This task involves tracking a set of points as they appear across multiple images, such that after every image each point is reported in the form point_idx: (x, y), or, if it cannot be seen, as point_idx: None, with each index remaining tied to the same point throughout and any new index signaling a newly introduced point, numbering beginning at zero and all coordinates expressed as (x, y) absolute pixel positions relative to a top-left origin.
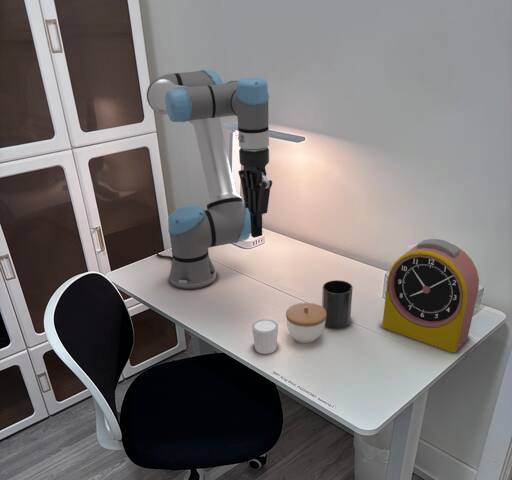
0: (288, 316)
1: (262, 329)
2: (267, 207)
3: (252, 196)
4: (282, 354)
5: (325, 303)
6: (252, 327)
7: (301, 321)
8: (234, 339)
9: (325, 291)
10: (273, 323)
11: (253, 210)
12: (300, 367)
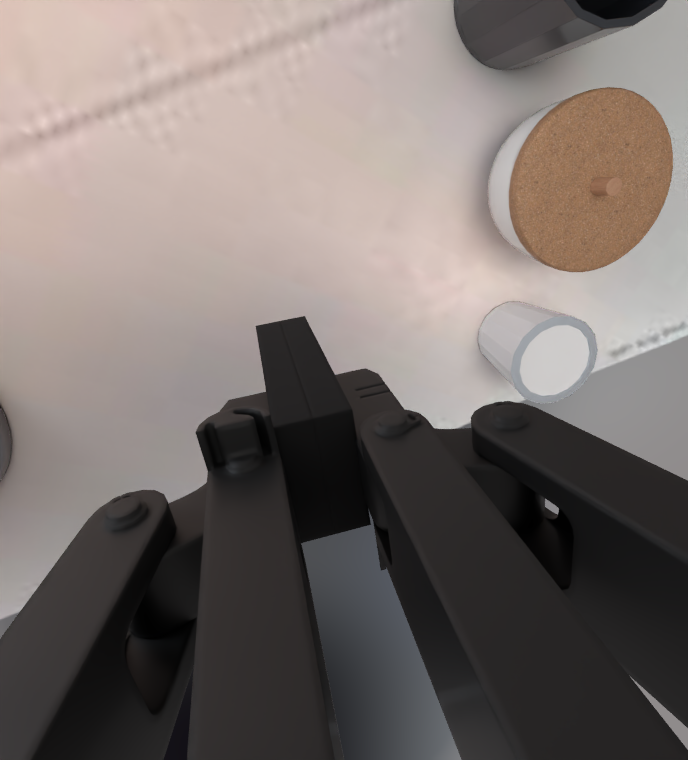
0: (578, 269)
1: (567, 376)
2: (608, 449)
3: (340, 758)
4: (563, 300)
5: (573, 45)
6: (538, 401)
7: (635, 239)
8: (419, 403)
9: (613, 29)
10: (558, 328)
11: (296, 523)
12: (641, 279)
